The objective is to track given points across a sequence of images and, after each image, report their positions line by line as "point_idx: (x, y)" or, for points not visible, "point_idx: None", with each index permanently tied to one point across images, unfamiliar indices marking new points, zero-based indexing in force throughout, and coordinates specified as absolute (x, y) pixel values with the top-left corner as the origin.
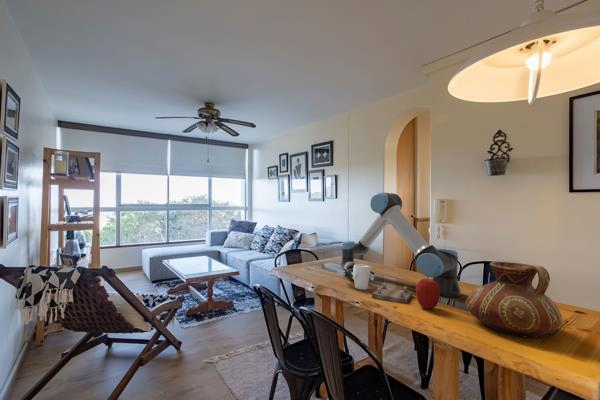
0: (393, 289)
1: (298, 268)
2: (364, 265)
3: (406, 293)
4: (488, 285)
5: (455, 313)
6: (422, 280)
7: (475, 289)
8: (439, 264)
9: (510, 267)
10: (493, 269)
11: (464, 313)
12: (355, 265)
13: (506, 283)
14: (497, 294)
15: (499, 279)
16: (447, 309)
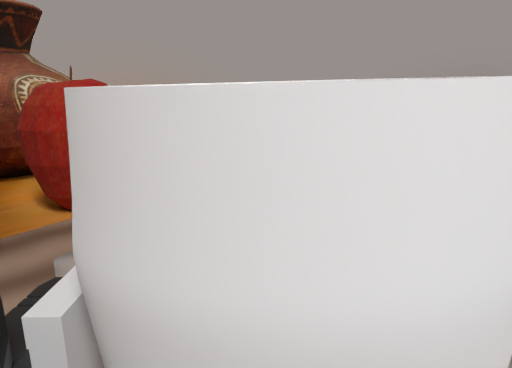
0: (6, 294)
1: None
2: (110, 126)
3: (19, 242)
4: (21, 66)
5: (37, 190)
6: (102, 82)
7: (13, 89)
8: None
9: None
10: (26, 16)
11: (4, 191)
12: (508, 126)
13: (29, 51)
14: (66, 76)
15: (25, 44)
16: (16, 202)
